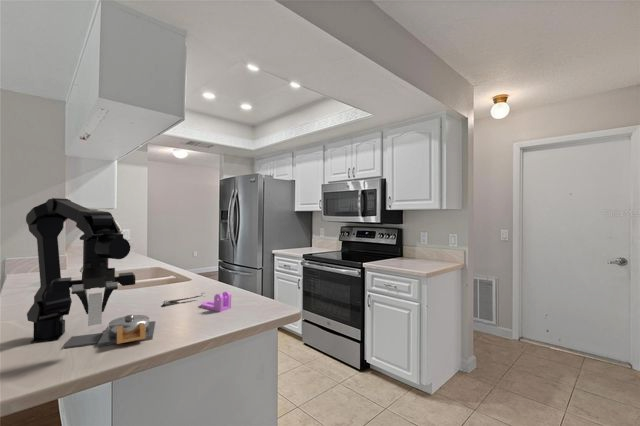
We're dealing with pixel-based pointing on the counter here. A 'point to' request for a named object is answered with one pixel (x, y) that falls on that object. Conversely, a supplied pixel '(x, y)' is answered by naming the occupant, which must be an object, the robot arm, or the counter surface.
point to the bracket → (219, 302)
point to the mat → (83, 340)
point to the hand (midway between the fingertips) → (95, 312)
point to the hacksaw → (178, 302)
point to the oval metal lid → (129, 328)
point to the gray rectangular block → (95, 309)
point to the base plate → (111, 340)
